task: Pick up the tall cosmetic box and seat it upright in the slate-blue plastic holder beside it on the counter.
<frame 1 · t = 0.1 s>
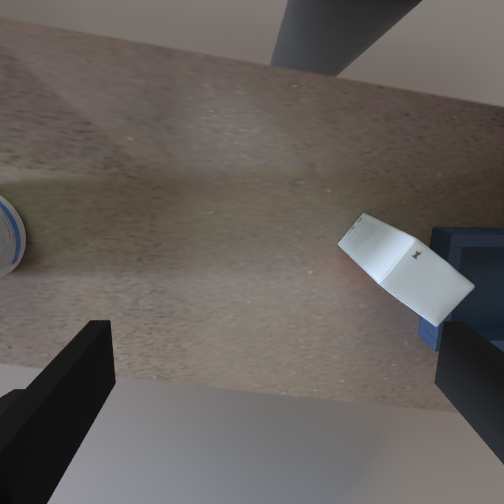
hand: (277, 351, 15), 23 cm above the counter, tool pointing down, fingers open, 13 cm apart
cosmetic box: (370, 245, 38), on the counter
holder: (480, 283, 39), on the counter
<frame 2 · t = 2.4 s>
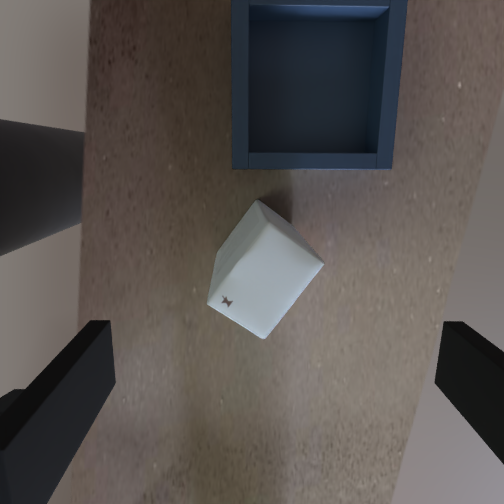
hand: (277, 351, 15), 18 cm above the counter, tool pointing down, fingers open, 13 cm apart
cosmetic box: (256, 238, 33), on the counter
holder: (307, 91, 30), on the counter
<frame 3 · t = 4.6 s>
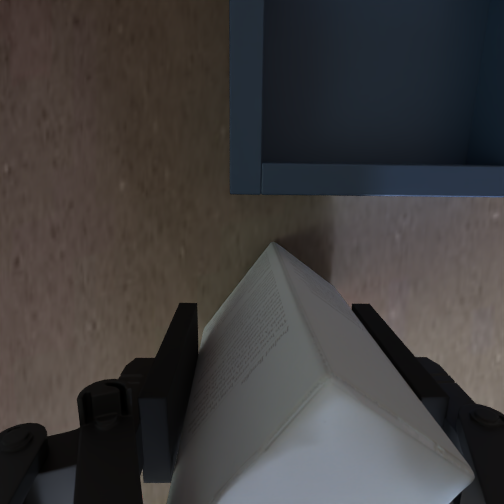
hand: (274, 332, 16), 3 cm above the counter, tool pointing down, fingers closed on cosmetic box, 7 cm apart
cosmetic box: (269, 304, 19), on the counter, touching gripper
holder: (367, 52, 16), on the counter
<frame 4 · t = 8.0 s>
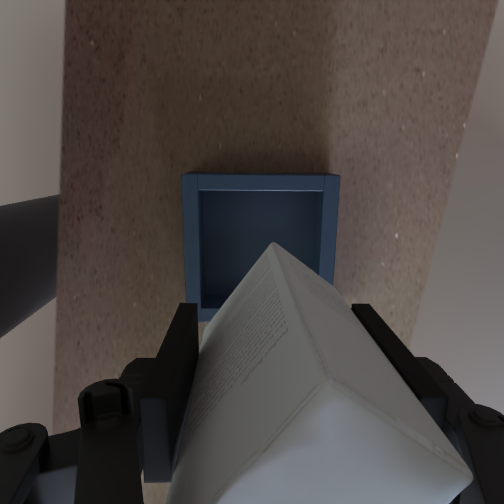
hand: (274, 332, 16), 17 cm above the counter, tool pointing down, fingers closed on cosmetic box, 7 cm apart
cosmetic box: (270, 305, 19), point 14 cm above the counter, touching gripper
holder: (258, 241, 33), on the counter
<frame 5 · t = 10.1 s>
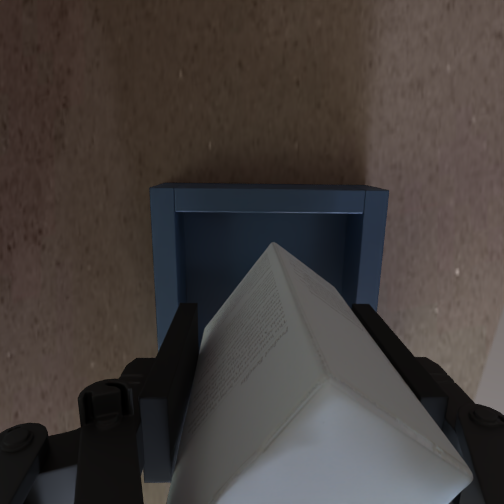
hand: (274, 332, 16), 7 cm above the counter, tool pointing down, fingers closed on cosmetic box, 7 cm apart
cosmetic box: (270, 304, 19), point 4 cm above the counter, touching gripper
holder: (263, 280, 23), on the counter
when the fingers open (4 cm above the counter, at t = 12.0 s): cosmetic box stays where it is, resting on holder.
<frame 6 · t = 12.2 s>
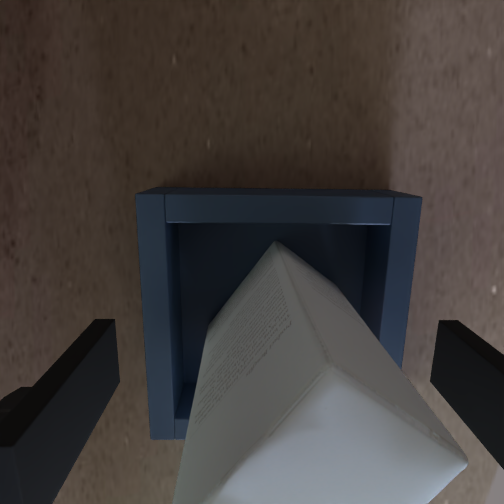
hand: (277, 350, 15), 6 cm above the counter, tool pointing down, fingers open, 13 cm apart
cosmetic box: (272, 302, 20), resting on holder
holder: (270, 299, 20), on the counter
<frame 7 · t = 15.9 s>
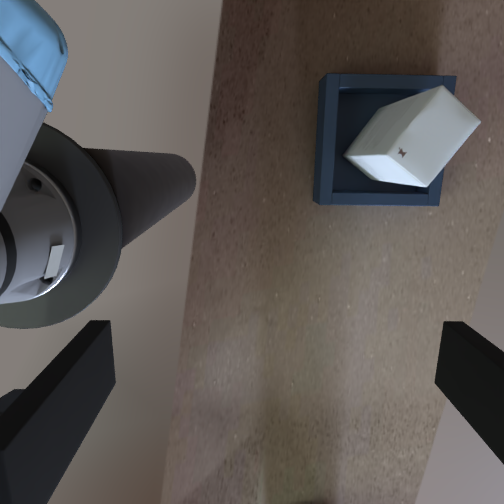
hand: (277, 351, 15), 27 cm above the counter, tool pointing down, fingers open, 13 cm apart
cosmetic box: (374, 144, 38), resting on holder
holder: (372, 144, 39), on the counter
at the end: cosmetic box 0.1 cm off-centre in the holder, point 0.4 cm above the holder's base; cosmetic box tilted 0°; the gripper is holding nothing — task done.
